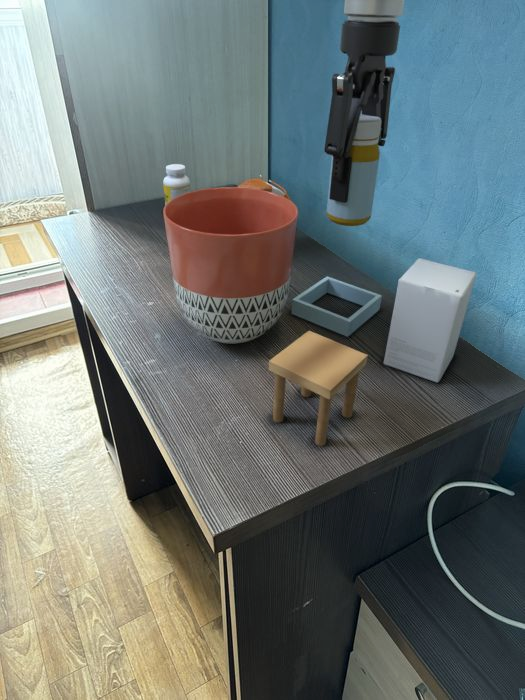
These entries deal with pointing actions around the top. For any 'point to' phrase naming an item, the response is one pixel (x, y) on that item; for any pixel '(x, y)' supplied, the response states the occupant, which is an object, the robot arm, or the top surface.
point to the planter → (231, 259)
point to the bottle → (359, 175)
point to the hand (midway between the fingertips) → (351, 193)
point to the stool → (317, 375)
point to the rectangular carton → (428, 318)
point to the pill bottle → (175, 182)
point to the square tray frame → (331, 320)
